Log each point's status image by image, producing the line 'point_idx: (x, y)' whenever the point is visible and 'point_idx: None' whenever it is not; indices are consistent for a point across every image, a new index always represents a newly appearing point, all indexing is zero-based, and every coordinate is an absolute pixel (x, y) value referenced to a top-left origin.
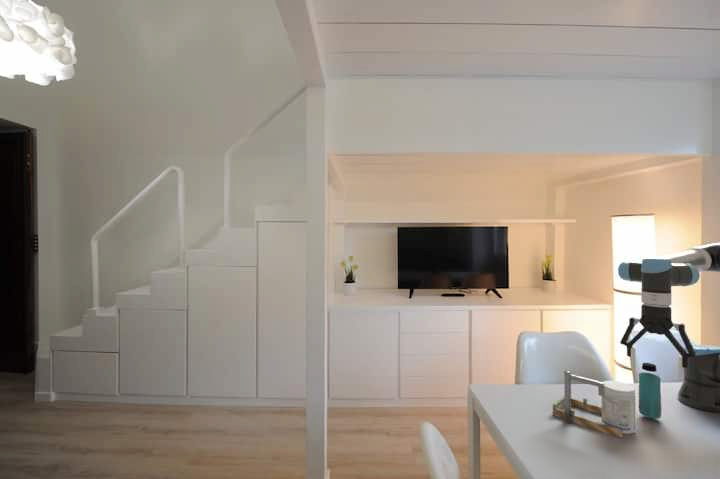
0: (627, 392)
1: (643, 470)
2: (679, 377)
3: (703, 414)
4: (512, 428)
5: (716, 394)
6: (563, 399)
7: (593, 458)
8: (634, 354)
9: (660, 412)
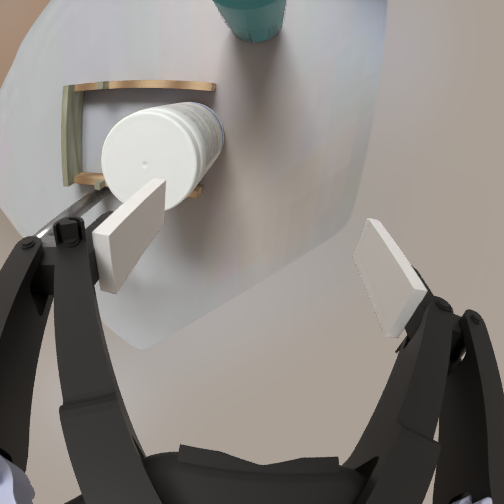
0: (180, 202)
1: (244, 286)
2: (355, 259)
3: None
4: None
5: None
6: (67, 133)
7: (178, 294)
8: (134, 237)
9: (281, 24)
